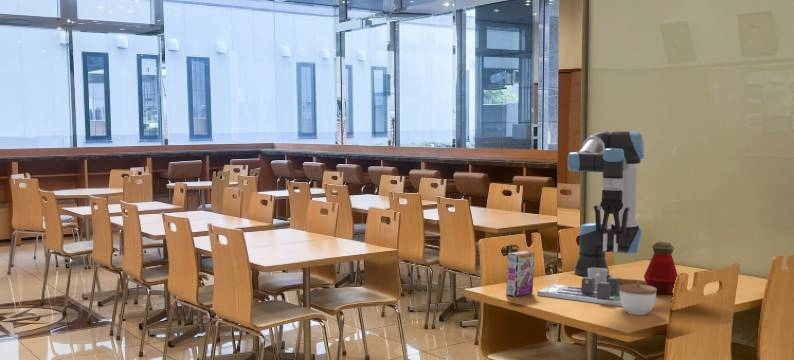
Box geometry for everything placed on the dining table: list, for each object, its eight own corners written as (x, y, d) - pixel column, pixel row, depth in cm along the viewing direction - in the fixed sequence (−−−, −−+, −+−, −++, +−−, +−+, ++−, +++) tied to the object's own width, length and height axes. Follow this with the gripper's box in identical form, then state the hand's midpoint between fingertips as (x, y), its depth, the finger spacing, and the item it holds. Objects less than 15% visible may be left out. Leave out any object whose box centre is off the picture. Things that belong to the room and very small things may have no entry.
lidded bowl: (634, 318, 267) (636, 286, 267) (610, 310, 279) (612, 279, 278) (663, 315, 272) (664, 284, 272) (638, 307, 284) (640, 277, 283)
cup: (608, 292, 312) (608, 272, 311) (587, 291, 313) (588, 271, 313) (606, 287, 322) (607, 268, 322) (586, 286, 324) (587, 267, 323)
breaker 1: (584, 290, 304) (584, 276, 304) (594, 291, 302) (595, 277, 301) (581, 291, 301) (581, 278, 300) (591, 293, 299) (592, 279, 298)
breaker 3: (609, 290, 305) (609, 276, 304) (619, 291, 303) (620, 278, 302) (606, 292, 302) (607, 278, 301) (616, 293, 300) (617, 279, 299)
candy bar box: (516, 297, 298) (517, 254, 297) (505, 295, 301) (507, 253, 300) (533, 293, 305) (534, 252, 305) (523, 291, 309) (524, 250, 308)
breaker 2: (599, 295, 295) (600, 281, 294) (610, 296, 292) (611, 282, 292) (596, 297, 292) (597, 282, 291) (607, 298, 289) (608, 284, 289)
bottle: (646, 287, 323) (648, 239, 322) (680, 291, 317) (682, 242, 316) (640, 294, 309) (642, 243, 308) (676, 298, 303) (678, 246, 302)
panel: (553, 288, 318) (554, 283, 318) (638, 298, 300) (638, 294, 300) (537, 295, 303) (537, 290, 303) (625, 306, 285) (625, 302, 285)
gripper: (587, 188, 296) (585, 250, 297) (631, 191, 287) (629, 254, 289) (594, 187, 302) (591, 248, 304) (637, 190, 294) (634, 252, 295)
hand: (610, 251), depth 296 cm, fingers open, 3 cm apart
